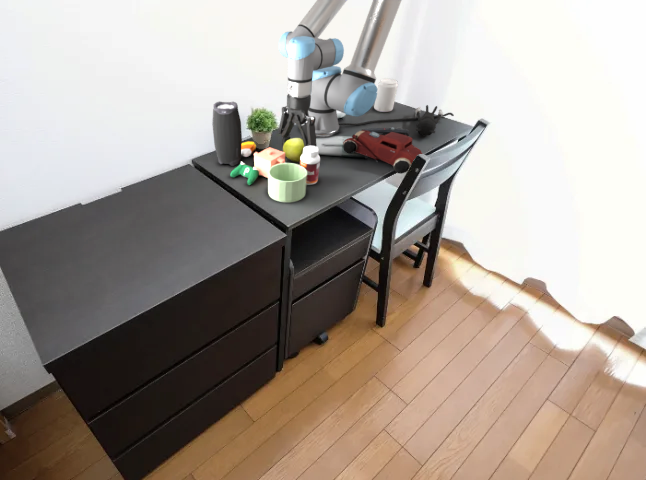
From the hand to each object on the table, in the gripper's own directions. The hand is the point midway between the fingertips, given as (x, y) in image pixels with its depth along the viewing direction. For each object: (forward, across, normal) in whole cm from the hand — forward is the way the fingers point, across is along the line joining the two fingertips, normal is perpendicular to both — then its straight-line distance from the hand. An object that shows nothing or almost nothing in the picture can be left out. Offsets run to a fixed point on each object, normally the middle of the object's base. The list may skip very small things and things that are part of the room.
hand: (295, 160), depth 133 cm
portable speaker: (0, -14, -18) cm, 23 cm away
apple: (0, 0, 0) cm, 0 cm away
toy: (-2, +3, +74) cm, 74 cm away
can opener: (0, +9, +36) cm, 37 cm away
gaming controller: (0, -1, -21) cm, 21 cm away
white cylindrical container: (0, -12, +62) cm, 63 cm away
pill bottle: (0, +13, -6) cm, 14 cm away
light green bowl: (0, +14, -16) cm, 21 cm away
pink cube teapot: (0, +1, -13) cm, 13 cm away
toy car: (0, +19, +23) cm, 30 cm away
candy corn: (-1, -18, -7) cm, 20 cm away
